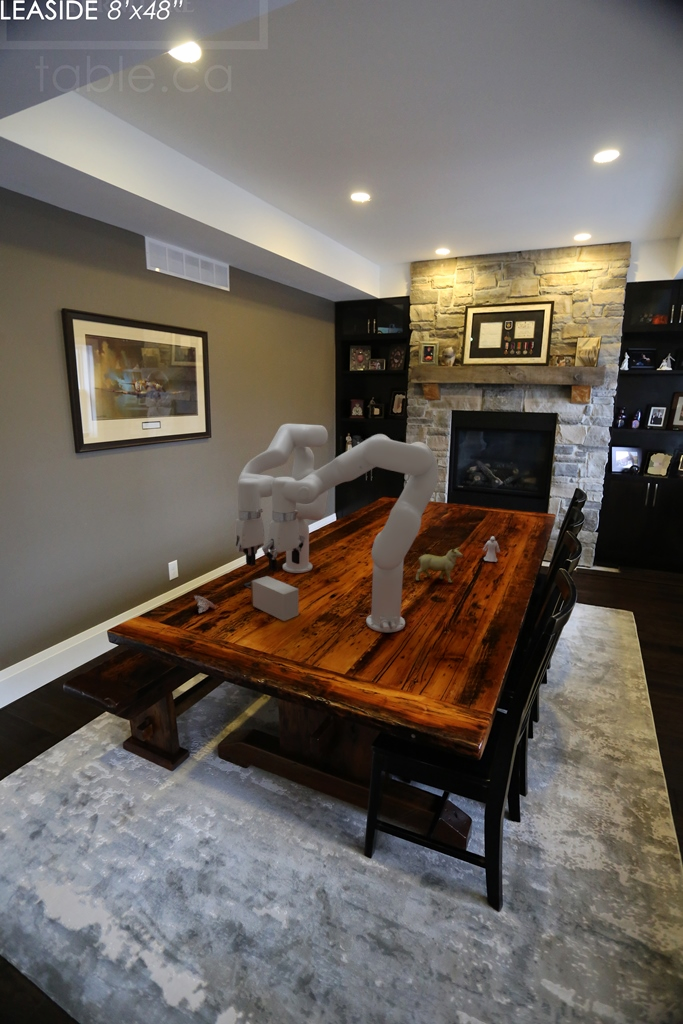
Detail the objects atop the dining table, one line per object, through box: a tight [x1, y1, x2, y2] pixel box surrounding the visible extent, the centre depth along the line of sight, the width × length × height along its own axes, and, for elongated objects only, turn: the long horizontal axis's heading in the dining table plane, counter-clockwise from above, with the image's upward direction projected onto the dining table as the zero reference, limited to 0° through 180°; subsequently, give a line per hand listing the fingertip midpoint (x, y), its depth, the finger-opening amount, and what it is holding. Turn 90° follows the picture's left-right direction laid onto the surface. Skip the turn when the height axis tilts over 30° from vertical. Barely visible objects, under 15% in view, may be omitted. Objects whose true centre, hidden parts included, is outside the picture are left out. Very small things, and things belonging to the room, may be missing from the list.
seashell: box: [193, 595, 217, 614], centre depth 168 cm, size 8×5×8 cm
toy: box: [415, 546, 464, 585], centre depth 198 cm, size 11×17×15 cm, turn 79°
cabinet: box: [251, 575, 300, 622], centre depth 170 cm, size 16×6×9 cm, turn 47°
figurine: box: [482, 535, 501, 563], centre depth 223 cm, size 8×8×12 cm
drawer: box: [242, 580, 253, 603], centre depth 173 cm, size 21×5×8 cm, turn 47°
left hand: (250, 564), depth 176 cm, fingers closed
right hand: (284, 566), depth 163 cm, fingers open, 9 cm apart
